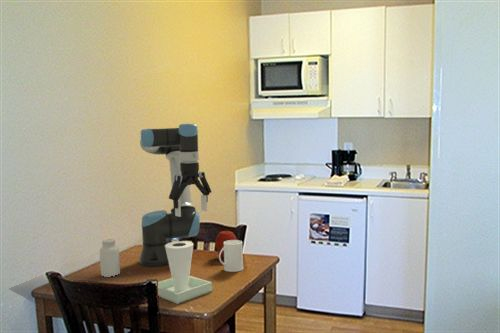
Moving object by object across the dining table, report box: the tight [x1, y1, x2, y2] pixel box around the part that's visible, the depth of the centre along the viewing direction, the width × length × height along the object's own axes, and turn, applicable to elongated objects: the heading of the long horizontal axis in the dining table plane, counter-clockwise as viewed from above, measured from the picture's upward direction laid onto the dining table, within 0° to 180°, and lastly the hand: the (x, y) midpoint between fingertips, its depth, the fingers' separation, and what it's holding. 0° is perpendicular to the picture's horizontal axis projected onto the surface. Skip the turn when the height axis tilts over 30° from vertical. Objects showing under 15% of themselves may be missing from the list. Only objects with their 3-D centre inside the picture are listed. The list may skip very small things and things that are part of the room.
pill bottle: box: [99, 238, 121, 278], centre depth 218 cm, size 8×8×15 cm
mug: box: [218, 239, 245, 273], centre depth 219 cm, size 12×8×12 cm
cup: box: [165, 240, 194, 293], centre depth 192 cm, size 11×11×18 cm
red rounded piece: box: [215, 228, 238, 259], centre depth 238 cm, size 10×10×14 cm
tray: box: [157, 275, 213, 305], centre depth 193 cm, size 17×17×4 cm
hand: (191, 213), depth 208 cm, fingers open, 13 cm apart
